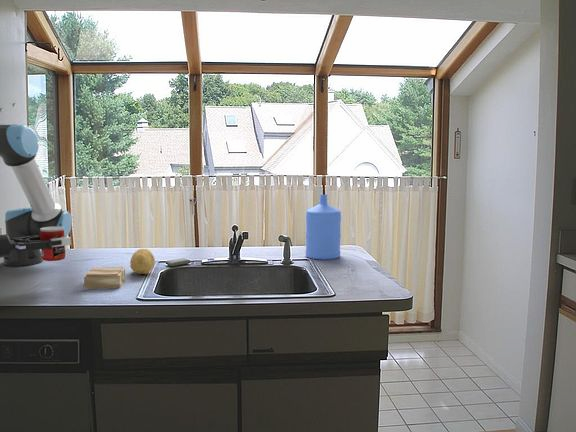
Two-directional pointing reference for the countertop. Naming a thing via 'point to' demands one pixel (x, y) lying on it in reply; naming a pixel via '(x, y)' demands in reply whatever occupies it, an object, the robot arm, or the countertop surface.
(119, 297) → the countertop surface
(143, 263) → the potato
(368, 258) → the countertop surface
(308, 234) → the water jug
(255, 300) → the countertop surface
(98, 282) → the plinth
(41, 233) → the canned food
